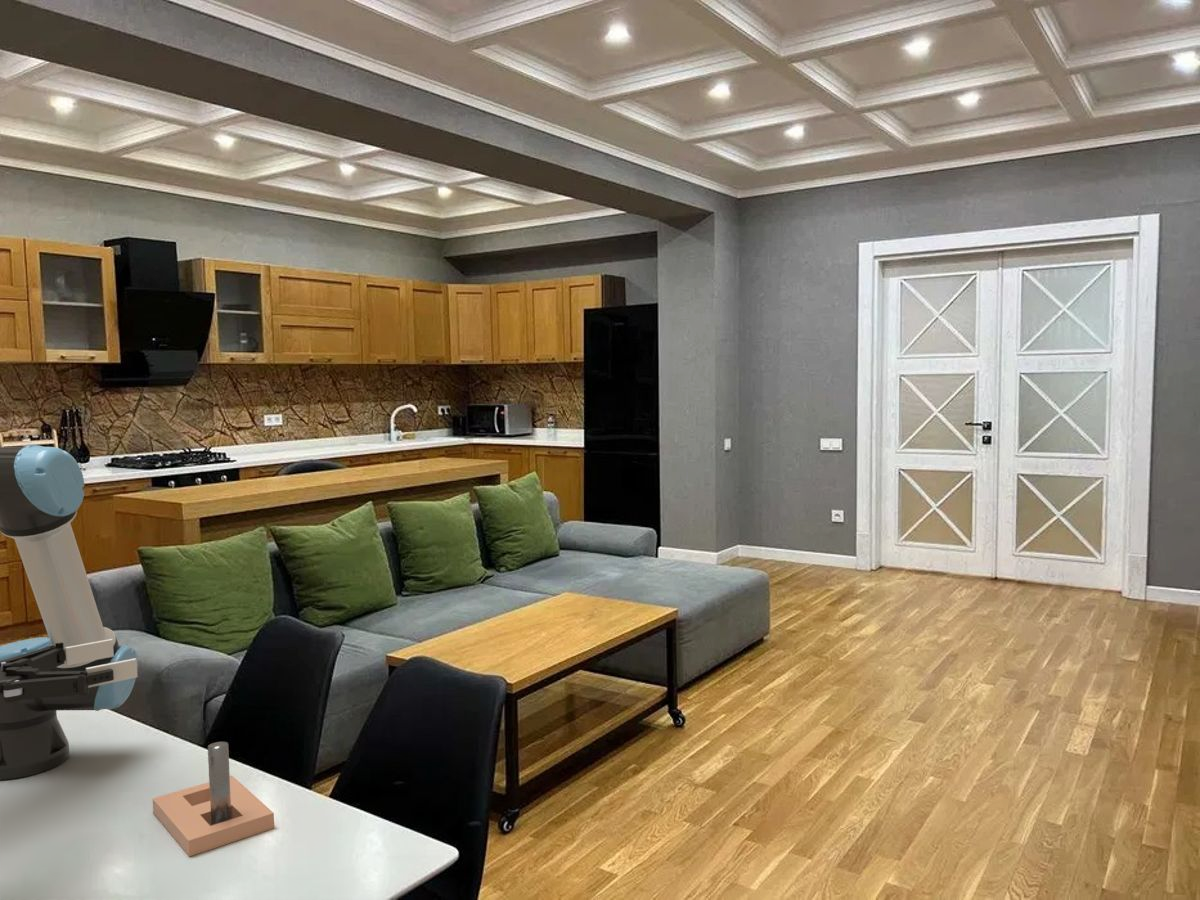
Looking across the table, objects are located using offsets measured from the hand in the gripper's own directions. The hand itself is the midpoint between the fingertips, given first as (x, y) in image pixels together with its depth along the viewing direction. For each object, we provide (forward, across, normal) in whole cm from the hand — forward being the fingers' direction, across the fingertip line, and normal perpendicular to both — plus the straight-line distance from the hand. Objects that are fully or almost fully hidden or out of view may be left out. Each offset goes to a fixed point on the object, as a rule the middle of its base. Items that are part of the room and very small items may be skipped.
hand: (124, 657), depth 138 cm
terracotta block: (+12, +1, -30) cm, 32 cm away
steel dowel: (+11, +5, -30) cm, 32 cm away
